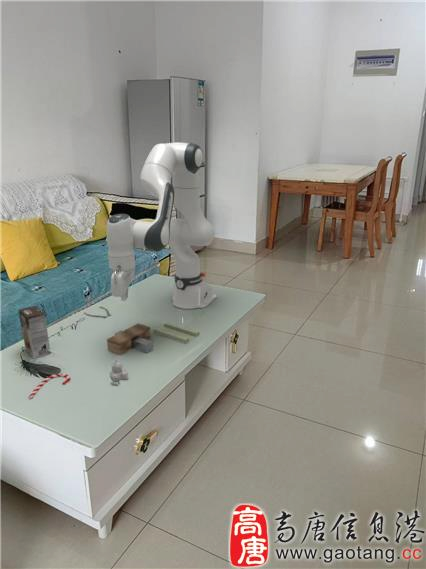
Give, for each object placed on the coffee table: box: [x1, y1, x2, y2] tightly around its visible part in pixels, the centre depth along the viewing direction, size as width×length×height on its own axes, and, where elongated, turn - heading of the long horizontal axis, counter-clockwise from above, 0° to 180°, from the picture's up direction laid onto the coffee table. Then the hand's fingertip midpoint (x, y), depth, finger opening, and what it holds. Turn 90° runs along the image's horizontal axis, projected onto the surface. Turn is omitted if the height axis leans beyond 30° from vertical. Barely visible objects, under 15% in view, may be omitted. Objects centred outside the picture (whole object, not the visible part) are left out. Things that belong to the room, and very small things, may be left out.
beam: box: [106, 322, 152, 356], centre depth 160 cm, size 16×6×6 cm, turn 146°
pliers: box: [83, 306, 112, 319], centre depth 190 cm, size 10×1×20 cm
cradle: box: [152, 321, 200, 344], centre depth 169 cm, size 8×16×3 cm, turn 56°
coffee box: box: [18, 305, 51, 359], centre depth 156 cm, size 9×6×16 cm
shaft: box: [114, 330, 154, 354], centre depth 159 cm, size 3×16×3 cm, turn 55°
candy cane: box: [28, 373, 71, 400], centre depth 137 cm, size 8×1×15 cm
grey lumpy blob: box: [109, 358, 129, 383], centre depth 139 cm, size 5×7×8 cm
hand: (124, 299), depth 155 cm, fingers closed
